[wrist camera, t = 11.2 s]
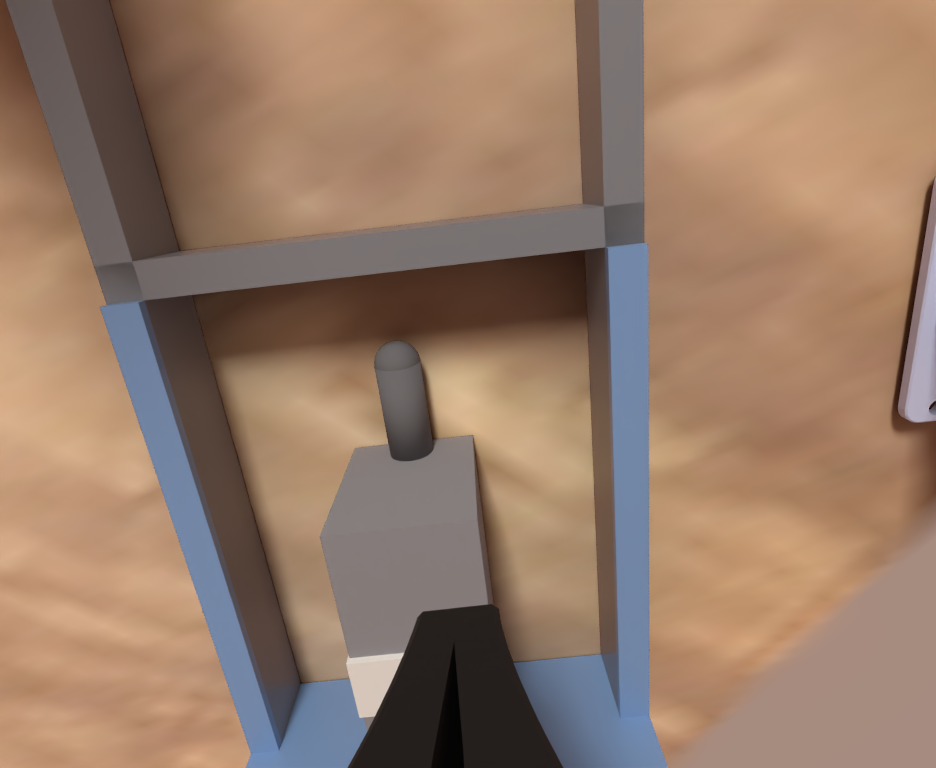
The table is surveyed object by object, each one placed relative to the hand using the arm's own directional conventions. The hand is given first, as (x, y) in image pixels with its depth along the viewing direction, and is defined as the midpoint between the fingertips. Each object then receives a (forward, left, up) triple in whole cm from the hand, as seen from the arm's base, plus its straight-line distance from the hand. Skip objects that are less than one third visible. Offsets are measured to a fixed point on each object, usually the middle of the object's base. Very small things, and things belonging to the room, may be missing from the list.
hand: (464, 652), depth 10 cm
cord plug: (+2, +2, -9) cm, 10 cm away
